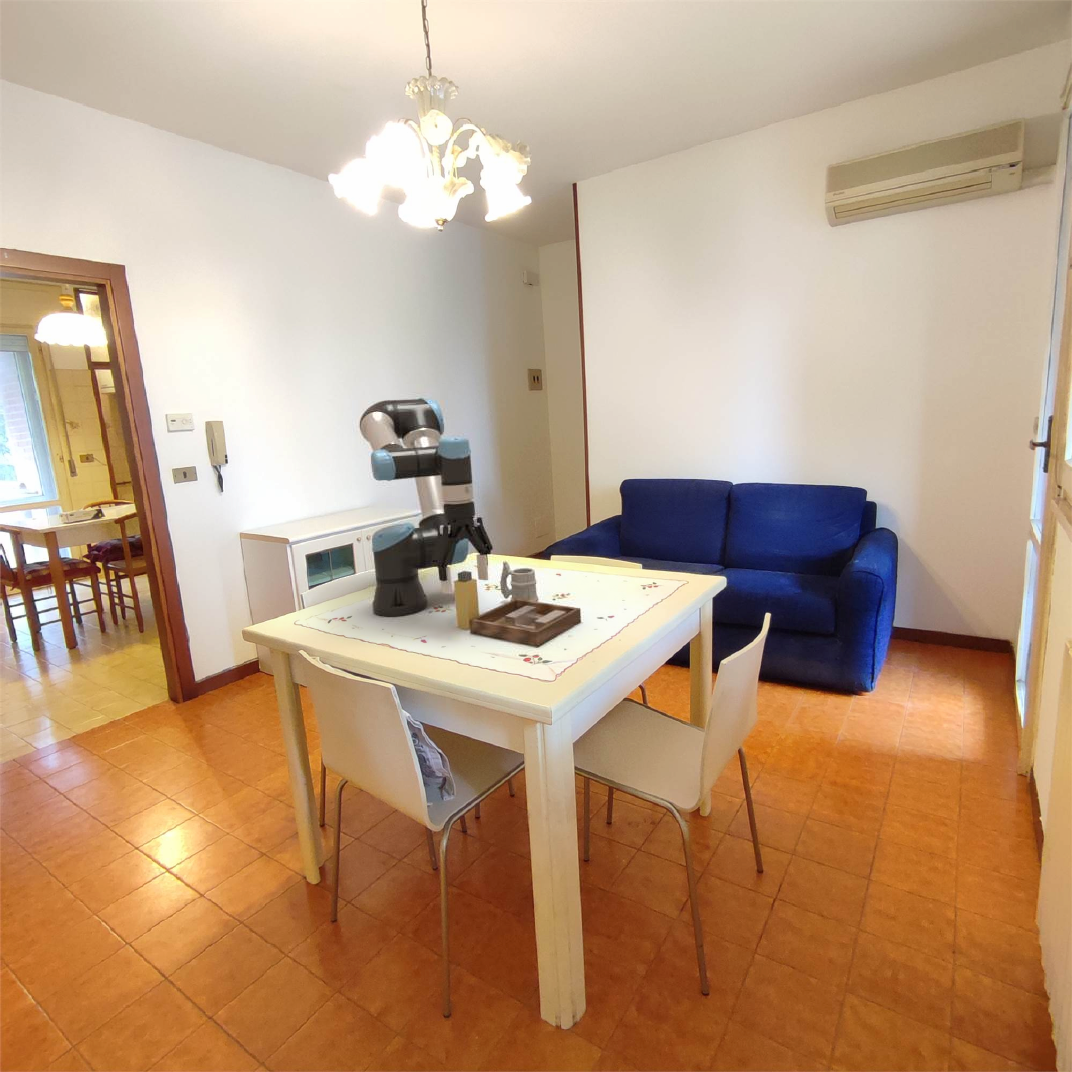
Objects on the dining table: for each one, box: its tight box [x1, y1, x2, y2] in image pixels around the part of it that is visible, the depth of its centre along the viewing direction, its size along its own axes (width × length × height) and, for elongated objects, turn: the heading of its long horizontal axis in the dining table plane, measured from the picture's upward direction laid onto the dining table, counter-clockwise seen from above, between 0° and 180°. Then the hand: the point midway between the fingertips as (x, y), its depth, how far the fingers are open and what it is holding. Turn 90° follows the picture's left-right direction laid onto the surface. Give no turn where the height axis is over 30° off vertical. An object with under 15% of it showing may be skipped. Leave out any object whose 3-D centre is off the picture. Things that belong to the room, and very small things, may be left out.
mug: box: [499, 560, 539, 602], centre depth 172 cm, size 8×12×12 cm, turn 55°
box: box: [469, 599, 582, 648], centre depth 153 cm, size 20×19×4 cm
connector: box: [453, 570, 480, 631], centre depth 156 cm, size 4×4×14 cm
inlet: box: [505, 605, 566, 630], centre depth 152 cm, size 12×9×3 cm
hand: (465, 586), depth 155 cm, fingers open, 13 cm apart
